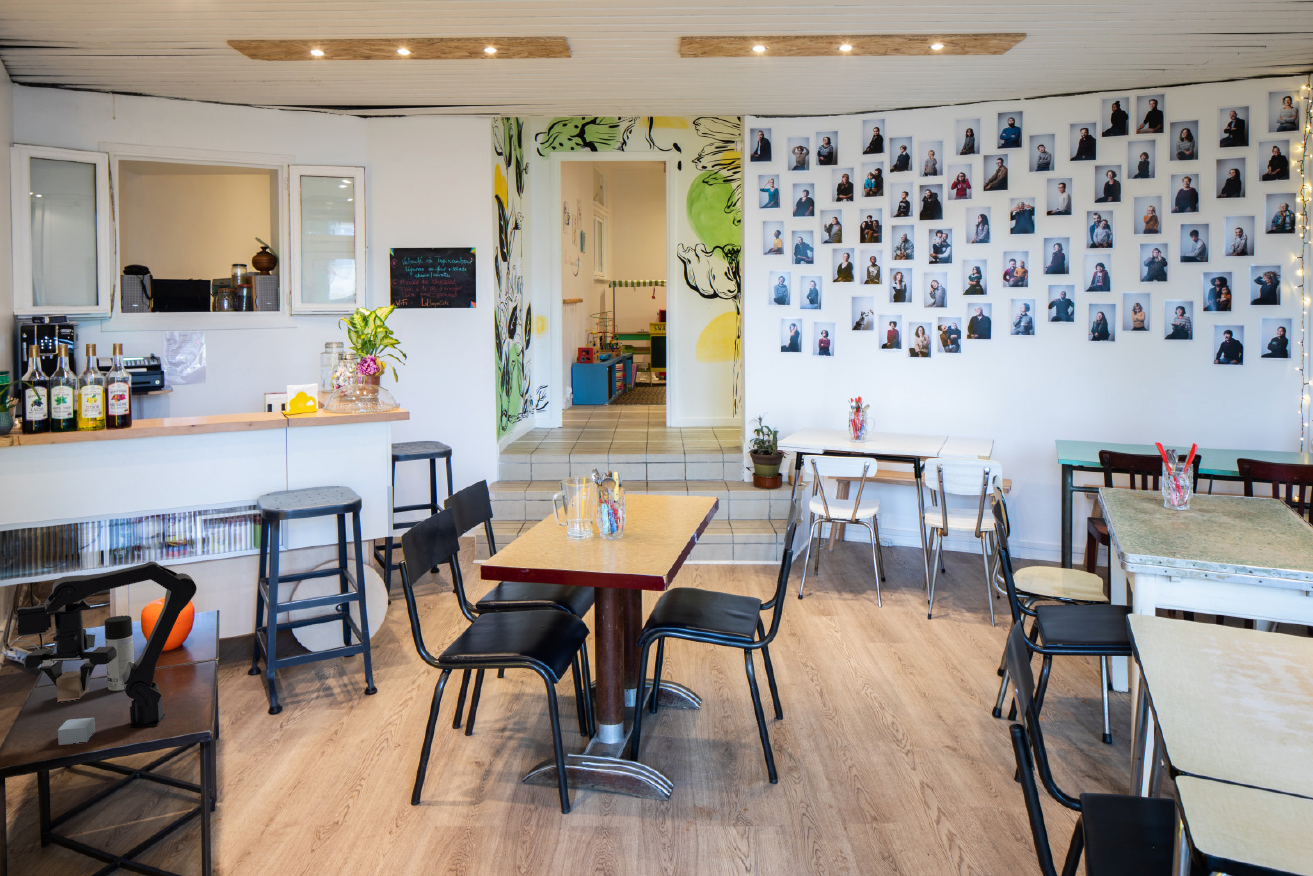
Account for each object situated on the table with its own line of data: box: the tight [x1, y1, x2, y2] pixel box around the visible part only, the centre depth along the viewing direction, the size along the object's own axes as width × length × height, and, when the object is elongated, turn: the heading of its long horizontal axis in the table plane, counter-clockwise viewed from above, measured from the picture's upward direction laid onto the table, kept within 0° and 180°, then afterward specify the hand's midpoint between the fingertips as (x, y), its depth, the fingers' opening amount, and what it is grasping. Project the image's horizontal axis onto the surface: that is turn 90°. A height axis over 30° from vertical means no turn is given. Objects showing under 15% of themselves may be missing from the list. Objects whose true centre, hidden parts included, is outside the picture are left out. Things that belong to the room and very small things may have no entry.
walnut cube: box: [56, 670, 90, 699], centre depth 223 cm, size 5×5×5 cm
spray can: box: [104, 614, 135, 692], centre depth 255 cm, size 7×7×20 cm
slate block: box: [57, 717, 96, 746], centre depth 223 cm, size 6×6×4 cm
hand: (73, 690), depth 223 cm, fingers closed on walnut cube, 5 cm apart
